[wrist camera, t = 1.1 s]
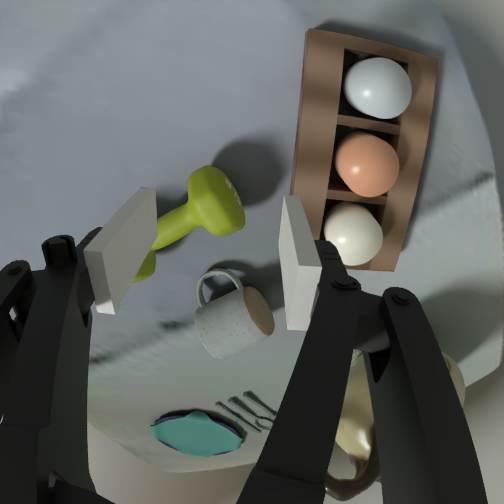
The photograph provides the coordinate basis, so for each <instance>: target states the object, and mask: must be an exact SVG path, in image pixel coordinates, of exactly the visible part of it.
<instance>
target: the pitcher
mask: <svg viewBox="0 0 504 504" xmlns="http://www.w3.org/2000/svg"><path fill="white" fill-rule="evenodd" d="M441 352H442V355H443V357H444V360H445V362H446V365H447V367H448V370H449V372H450V375H451V378H452V380H453V383H454V386H455V389H456V391H457V394H458V397H459V400H460V403H461V406H462V407H463V404H464V399H465V384H464V379H463V376H462V373H461V371H460V369H459V367H458V365H457V364H456V363H455V361H454V360H453V359H452V358H451V357H450V356H448V355H447V354H446V353H444V352H443V351H441ZM335 440H336V442H337V443H338V444H339V446H340V447H341V448H342V449H343V450H344V451H346V452H347V453H348V455H349V459H350V461H351V463H352V464H353V465H354V466H355V467H356V475H355V477H354V479H337V478H334V477H333V476H332V475H330V474H329V473H328V471H327V473H326V477H325V486H326V494H328V495H329V496H331V497H333V498H334V499H336V500H338V501H347V500H349V499H351V498H353V497H355V496H356V495H358V494H360V493H361V492H363V491H365V490H366V489H368V488H369V487H370V486H371V485H372V484H373V483H374V482H375V481H377V482H380V483H381V473H380V464H379V455H378V447H377V439H376V432H375V424H374V417H373V411H372V404H371V398H370V392H369V386H368V380H367V374H366V369H365V363H364V358H363V353H362V354H361V355H360V356H359V357H358V358H357V359H356V361H355V362H354V364H353V367H352V368H351V369H350V371H349V377H348V382H347V387H346V393H345V398H344V403H343V407H342V412H341V417H340V421H339V426H338V430H337V434H336V438H335Z"/></svg>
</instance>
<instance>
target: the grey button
mask: <svg viewBox="0 0 504 504" xmlns="http://www.w3.org/2000/svg"><path fill="white" fill-rule="evenodd" d="M342 86H343V92H344V95H345V97H346V99H347V101H348V102H349V104H350V105H351V106H352V107H353V108H355V109H356V110H358V111H360V112H362V113H365V114H368V115H371V116H374V117H377V118H382V119H389V118H394V117H396V116H398V115H400V114H401V113H402V112H404V110H405V109H406V108H407V106H408V105H409V103H410V100H411V95H412V87H411V82H410V79H409V77H408V75H407V73H406V72H405V70H404V69H403V68H402V67H401V66H400V65H399V64H397V63H396V62H394V61H392V60H390V59H387V58H371V59H366V60H361V61H357V62H355V63H354V64H352V65H351V66H350V67H349V68H348V69H347V70H346V72H345V74H344V77H343V83H342Z"/></svg>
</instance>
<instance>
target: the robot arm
mask: <svg viewBox="0 0 504 504" xmlns="http://www.w3.org/2000/svg"><path fill="white" fill-rule="evenodd" d="M157 237H158V227H157V210H156V190H155V188H146V187H141V188H140V189H139V190H138V191H137V192H136V193H135V194H134V195H133V197H132V198H131V199H130V200H129V201H128V202H127V203H126V204H125V205H124V206H123V207H122V208H121V209H120V210H119V211H118V212H117V213H116V214H115V215H114V216H113V217H112V219H111V220H110V221H109V222H108V223H107V224H106V225H105V226H104V227H98V228H96V229H94V230H92V231H91V232H89V233H88V234H87V236H86V237H85V238H84V239H83V240H82V241H81V242H80V244H78V245H77V246H76V247H75V242H74V238H73V237H72V236H69V235H58V236H54V237H51V238H49V239H47V240H46V241H44V242H43V244H42V245H41V246H42V250H43V254H44V258H45V262H46V267H45V270H37V271H31V269H30V265H29V263H28V262H27V261H24V260H16V261H13V262H11V263H10V264H8V265H6V266H5V267H4V268H3V269H2V270H1V271H0V421H1V419H2V416H3V420H2V423H1V424H0V504H115V503H113V502H111V501H109V500H107V499H105V498H104V497H102V496H100V495H98V494H97V493H96V490H95V486H94V484H93V482H92V479H91V477H90V473H89V465H88V445H87V387H88V365H89V350H90V337H91V327H92V312H91V309H90V307H91V305H92V304H93V302H94V300H95V304H96V308H97V311H98V312H100V313H108V314H115V313H116V311H117V310H118V308H119V306H120V304H121V302H122V300H123V298H124V296H125V294H126V292H127V290H128V289H129V287H130V285H131V283H132V281H133V279H134V278H135V276H136V274H137V272H138V270H139V268H140V267H141V265H142V263H143V261H144V259H145V258H146V256H147V254H148V252H149V251H150V249H151V247H152V245H153V244H154V242H155V240H156V239H157ZM278 244H279V253H280V262H281V271H282V281H283V290H284V300H285V310H286V320H287V330H307V333H306V336H305V339H304V342H303V345H302V347H301V350H300V353H299V356H298V359H297V362H296V364H295V367H294V370H293V373H292V376H291V378H290V381H289V384H288V386H287V389H286V392H285V394H284V397H283V400H282V402H281V405H280V408H279V410H278V413H277V415H276V418H275V420H274V423H273V425H272V428H271V430H270V433H269V435H268V438H267V440H266V442H265V445H264V447H263V450H262V452H261V454H260V457H259V459H258V461H257V463H256V465H255V466H254V468H253V469H252V471H251V473H250V475H249V477H248V479H247V481H246V483H245V485H244V488H243V490H242V492H241V494H240V496H239V499H238V501H237V503H236V504H323V501H324V497H325V493H326V486H325V477H326V473H327V469H328V466H329V462H330V458H331V455H332V451H333V447H334V443H335V438H336V434H337V430H338V426H339V421H340V417H341V412H342V407H343V403H344V398H345V393H346V387H347V382H348V377H349V371H350V366H351V360H352V354H353V349H357V350H361V351H363V358H364V363H365V369H366V374H367V380H368V386H369V392H370V398H371V404H372V411H373V417H374V424H375V432H376V439H377V447H378V455H379V464H380V473H381V484H382V495H383V504H488V502H487V497H486V492H485V487H484V483H483V479H482V474H481V470H480V466H479V462H478V459H477V455H476V451H475V448H474V444H473V441H472V437H471V434H470V431H469V427H468V424H467V421H466V418H465V415H464V412H463V409H462V406H461V403H460V400H459V397H458V394H457V391H456V389H455V386H454V383H453V380H452V378H451V375H450V372H449V370H448V367H447V365H446V362H445V360H444V357H443V355H442V352H441V350H440V347H439V345H438V343H437V340H436V338H435V336H434V333H433V331H432V329H431V326H430V324H429V322H428V320H427V317H426V315H425V313H424V311H423V309H422V307H421V304H420V302H419V300H418V299H417V297H416V296H415V295H414V294H413V293H411V292H410V291H409V290H407V289H404V288H399V287H390V288H388V289H386V290H385V291H384V293H383V296H382V297H381V296H377V295H373V294H369V293H366V292H364V291H362V290H361V284H360V283H359V282H358V281H357V280H356V279H354V278H353V277H351V276H348V274H347V271H346V269H345V266H344V264H343V261H342V259H341V257H340V255H339V252H338V249H337V247H336V246H335V245H334V244H332V243H331V242H330V241H326V240H314V239H313V236H312V233H311V230H310V227H309V224H308V221H307V218H306V215H305V212H304V209H303V206H302V203H301V200H300V197H299V196H292V195H284V200H283V208H282V217H281V226H280V235H279V243H278ZM12 307H13V310H14V312H15V314H16V317H15V319H14V320H12V319H11V316H10V314H9V312H10V310H11V308H12ZM310 320H311V321H310ZM3 414H4V415H3Z"/></svg>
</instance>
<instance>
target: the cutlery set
mask: <svg viewBox="0 0 504 504" xmlns="http://www.w3.org/2000/svg"><path fill="white" fill-rule="evenodd" d="M243 396H244V397H245V398H246V399H248V400H249V401H251V402H252V403H254V404H256V405H257V406H259V407H260V408H262V409H263V410H264V411H265V412H266V413H268V414H269V417H270V418H271V419H273V420H275V418H276V415H277V413H274V412H273V411H272V412H271V411H270V410H269V409H268V408H267V407H265V406H264V405H263V404H262V403H260V402H259V401H258V400H256V399H255V398H253V397H252V396H251V395H249V394H248V393H247V392H245V393H243ZM228 403H230V404H231V405H233V406H235V407H236V408H238V409H239V410H241V411H243V412H244V413H246V414H248V415H250V416H252V417H254V418H256V419H255V424H256V425H257V426H258V427H260V428H262V429H266V430H271V428H272V426H270V427H266V426H262V425H260V424H259V423H258V422H257V420H258V419H264V420H268V419H266V418H259V417H257V416H255V415H253V414H252V413H251V412H249V411H247V410H246V409H245V408H243V407H242V406H241V405H239V404H238V403H237V402H236V401H234V400H233V399H229V400H228ZM215 405H217V406H218V407H220V408H222V409H223V410H224V411H226V412H227V413H228V414H230V415H231V416H232V418H233V419H236V422H237V421H240V422H241V423H242V424H243V425H245V426H246V427H247V428H249V429H251V430H252V431H254V432H256V433H261V431H259V430H258V429H256V428H254V427H253V426H251V425H250V424H248V423H247V422H245V421H244V420H242V419H241V417H238V415H236V414H232V413H231V412H230V411H228V410H226V409H225V408H224V407H222V406H221V405H220V404H219V403H218V402H216V404H215ZM268 421H270V420H268ZM270 422H272V421H270ZM272 425H273V423H272ZM151 432H152V435H153V436H154V437H155V438H157V439H158V440H159V441H160V442H162V443H163V444H164V445H166V446H168V447H170V448H173V449H175V450H177V451H180V452H181V453H183V454H187V455H193V456H202V457H209V456H211V455H219V454H225V453H228V452H231V451H233V450H236V449H239V448H240V446H241V443H242V440H243V438H242V437H240V435H239V433H238V432H237V431H236V430H235V429H233V428H232V427H231V426H229V425H227V424H225V423H222V422H220V421H217V420H214V419H210V418H209V417H208V416H207V415H206V414H205V413H204V412H202V411H194V412H192V413H190V414H189V415H174V416H168V417H163V418H161V419H159V420H157V421H156V422H155V424H154V425H151Z"/></svg>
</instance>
